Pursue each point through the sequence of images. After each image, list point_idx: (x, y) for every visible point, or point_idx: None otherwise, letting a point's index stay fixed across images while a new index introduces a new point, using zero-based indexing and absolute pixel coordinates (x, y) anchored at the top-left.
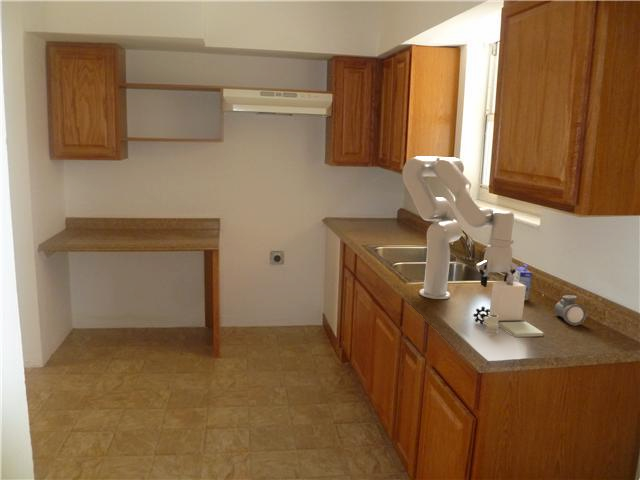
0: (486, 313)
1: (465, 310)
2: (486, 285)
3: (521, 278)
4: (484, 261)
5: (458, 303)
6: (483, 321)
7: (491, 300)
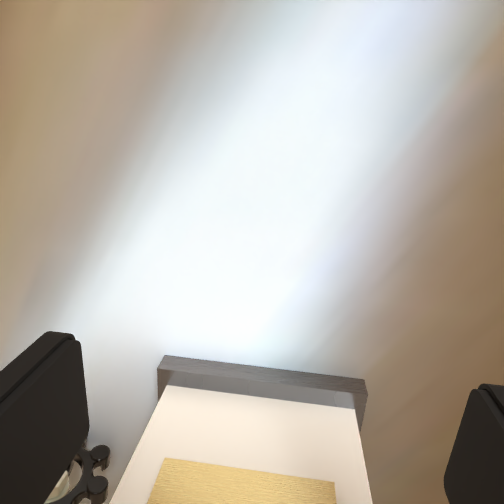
0: (66, 499)
1: (73, 211)
2: (75, 450)
3: None
4: None
5: (80, 20)
6: (67, 471)
7: (120, 488)
